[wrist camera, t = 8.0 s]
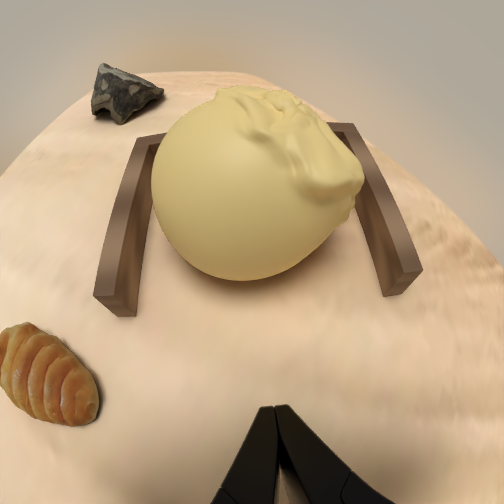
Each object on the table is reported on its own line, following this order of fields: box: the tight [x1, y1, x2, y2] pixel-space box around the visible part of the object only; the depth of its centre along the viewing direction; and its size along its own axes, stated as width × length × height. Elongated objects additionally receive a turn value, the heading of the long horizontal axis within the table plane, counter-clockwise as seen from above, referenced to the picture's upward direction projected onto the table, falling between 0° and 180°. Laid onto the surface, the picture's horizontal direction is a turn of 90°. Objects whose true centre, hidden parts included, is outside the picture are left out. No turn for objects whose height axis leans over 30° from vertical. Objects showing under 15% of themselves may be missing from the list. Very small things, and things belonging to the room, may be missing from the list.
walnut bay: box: [93, 122, 423, 316], centre depth 21 cm, size 16×20×4 cm
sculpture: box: [151, 85, 365, 281], centre depth 17 cm, size 11×12×11 cm
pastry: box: [0, 322, 99, 427], centre depth 14 cm, size 9×7×4 cm
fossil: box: [91, 63, 164, 125], centre depth 31 cm, size 11×9×10 cm
